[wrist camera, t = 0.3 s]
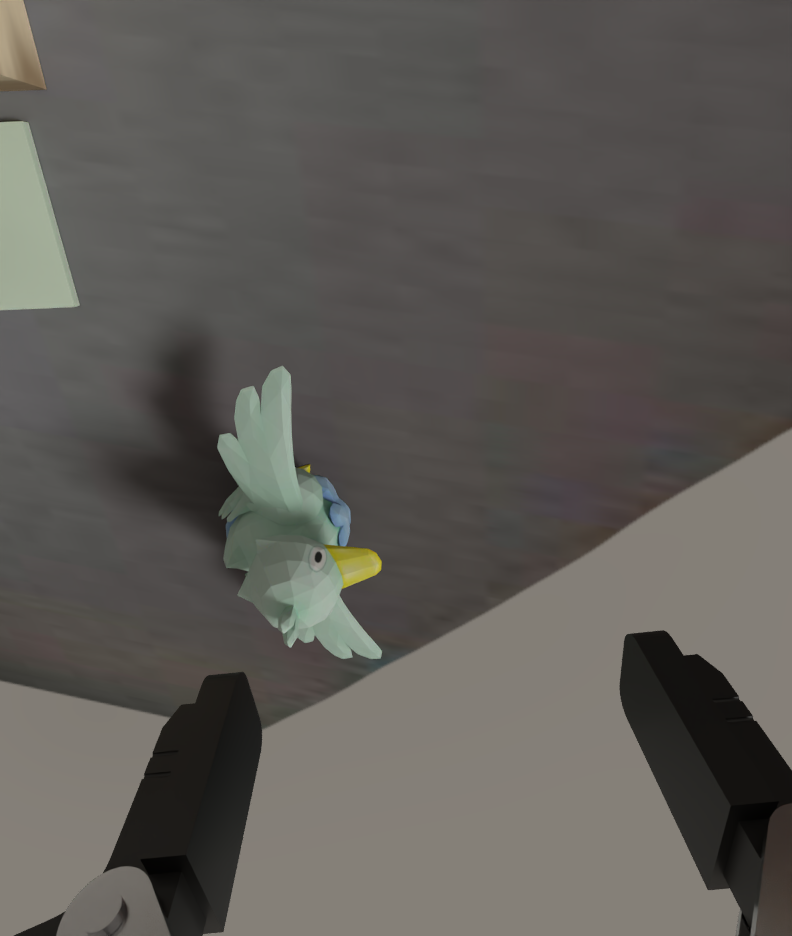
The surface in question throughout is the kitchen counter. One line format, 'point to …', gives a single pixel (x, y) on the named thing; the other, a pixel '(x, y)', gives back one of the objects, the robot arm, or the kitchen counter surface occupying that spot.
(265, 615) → the toy
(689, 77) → the kitchen counter surface
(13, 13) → the bore block
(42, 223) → the pad
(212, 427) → the kitchen counter surface
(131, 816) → the robot arm
